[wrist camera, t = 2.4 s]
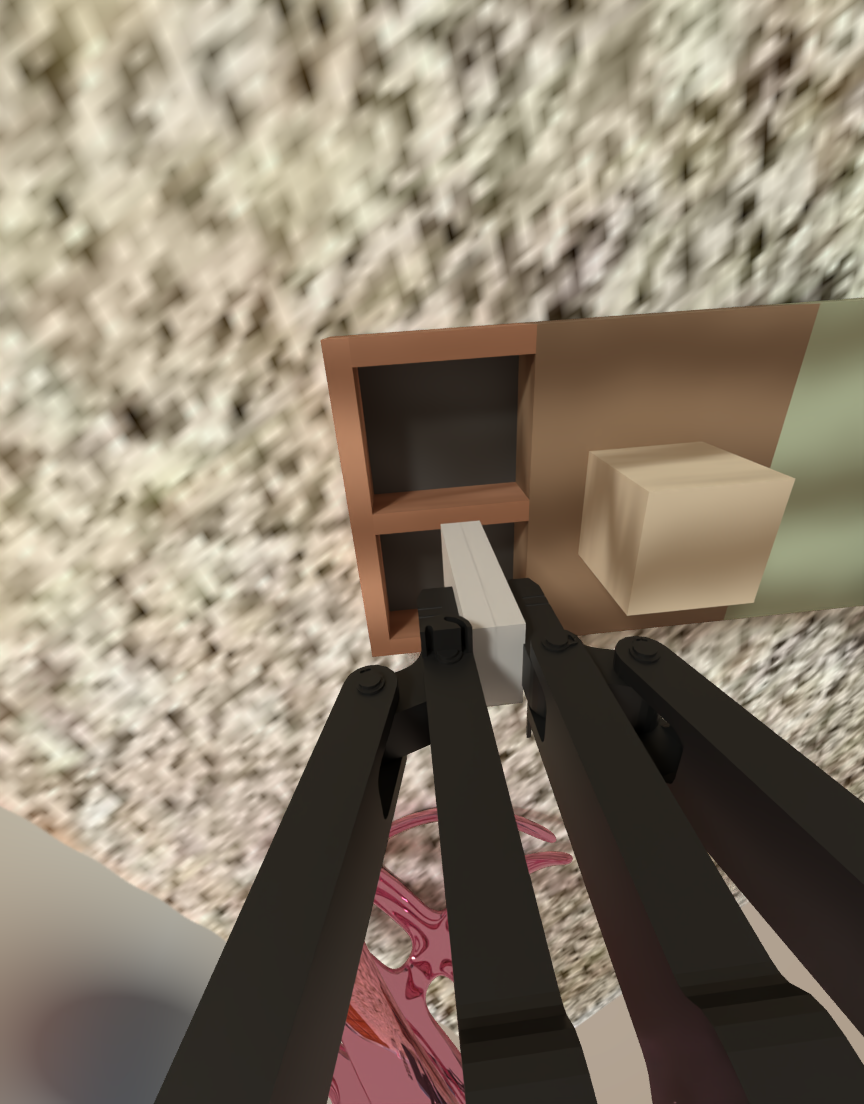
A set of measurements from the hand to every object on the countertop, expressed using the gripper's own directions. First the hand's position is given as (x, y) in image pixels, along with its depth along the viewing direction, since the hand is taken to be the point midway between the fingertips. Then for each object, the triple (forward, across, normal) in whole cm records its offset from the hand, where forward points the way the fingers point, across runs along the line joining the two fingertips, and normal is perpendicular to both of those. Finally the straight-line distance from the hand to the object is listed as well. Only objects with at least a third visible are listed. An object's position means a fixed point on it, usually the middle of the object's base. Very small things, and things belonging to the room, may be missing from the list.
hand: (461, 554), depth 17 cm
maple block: (+3, +8, 0) cm, 9 cm away
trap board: (+6, +10, 0) cm, 11 cm away
